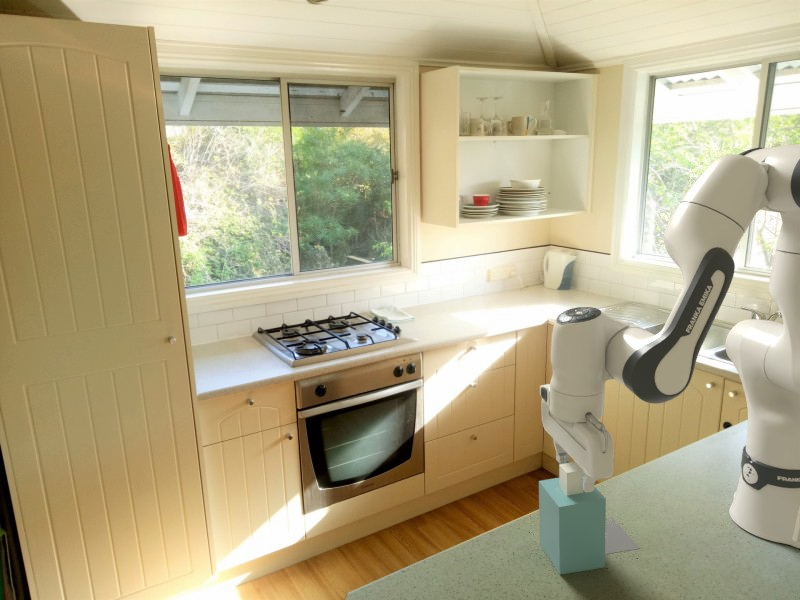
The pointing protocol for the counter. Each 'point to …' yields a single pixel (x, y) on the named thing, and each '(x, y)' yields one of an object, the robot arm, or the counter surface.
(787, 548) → the counter surface
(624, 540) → the mat
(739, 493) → the robot arm
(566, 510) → the cover
